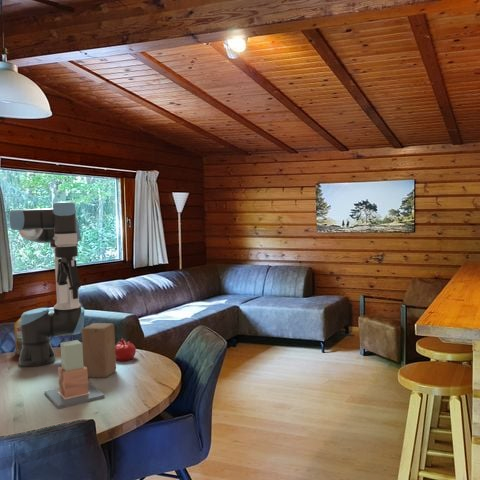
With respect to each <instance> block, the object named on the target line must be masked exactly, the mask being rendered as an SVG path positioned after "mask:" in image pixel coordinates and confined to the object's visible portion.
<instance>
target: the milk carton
mask: <svg viewBox="0 0 480 480" xmlns="http://www.w3.org/2000/svg"><path fill="white" fill-rule="evenodd" d="M25 312H26V311H24V312H23V313H25ZM13 325H14V326H13V327H14V341H15V343H14V345H15V355H18V354H19V356H20V353H21V350H22V329H21V317H20V318H18V320H16V321H15V323H14V324H13Z"/></svg>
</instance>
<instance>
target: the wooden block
mask: <svg viewBox="0 0 480 480" xmlns="http://www.w3.org/2000/svg"><path fill="white" fill-rule="evenodd" d="M115 335H116V334H115V325H114V323H109V322H107V323H106V322H103V323H101V322H92V323H91V324H89V325H87V326H83V328H82V332H81V343H82V348H83V365H84V366H85V367H86V368H87V372H88V378H96V377H98V378H99V379H102V378H103V379H104V378H105V377H106V378H107V377H109V376H111V375H112V374H113V373H115V372H116V370H117V360H116V355H115V346H116V337H115ZM106 378H105V379H106Z"/></svg>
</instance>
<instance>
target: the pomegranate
mask: <svg viewBox="0 0 480 480" xmlns="http://www.w3.org/2000/svg"><path fill="white" fill-rule="evenodd" d="M120 340H121V342H120V341H118V342H117V343H116V344H115V355H116V361H118V362H125V361H129V360H132V359H133V358H135V355H136V352H137V348H136V346H135V345H134V343H132V342H131V341H127V342H126V340H125V339H124V338H121V339H120Z"/></svg>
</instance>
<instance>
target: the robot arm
mask: <svg viewBox="0 0 480 480" xmlns="http://www.w3.org/2000/svg"><path fill="white" fill-rule="evenodd" d="M8 213H9V216H8V217H9V219H8V220H9V227H10V229H11V230H12V231H18V233H19V235H20V236H21V237H22V238H23V239H25V240H27V241H29V242H33V243H40V244H47V243H49V244H50V245H49V247H50V248H51V249H52V250H53V251H54V253H53V254H54V272H55V289H56V290H55V292H56V304H55V305H53V310H50V309H49V307H38V308H35V309H30V310H28V311H24V312H25V313H24V312H23V313H22V314H21V316H20V318H21V329H22V350H21V353H20V355H19V358H18V365H19V366H20V367H21V366H22V367H26V368H27V367H39V366H44V365H48V364H51V363H54V362H55V361H56V353H55V351H54V348H53V346H52V343H51V338H55V337H62V336H73V335H79V334H82V328H84V327H85V326H84V325H85V308H84V307H82V305H81V303H80V295H79V294H80V293H79V289H80V288H81V282H80V276H79V272H78V265H77V260H76V257H78V253H79V252H78V246H79V242H81V241H82V237H81V229H80V225H79V222H78V221H79V220H78V218H77V215H76V214H77V209H76V203H75V202H74V201H55V202H54V203H52V208H18V209H11V210H10V211H9V212H8Z"/></svg>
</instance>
